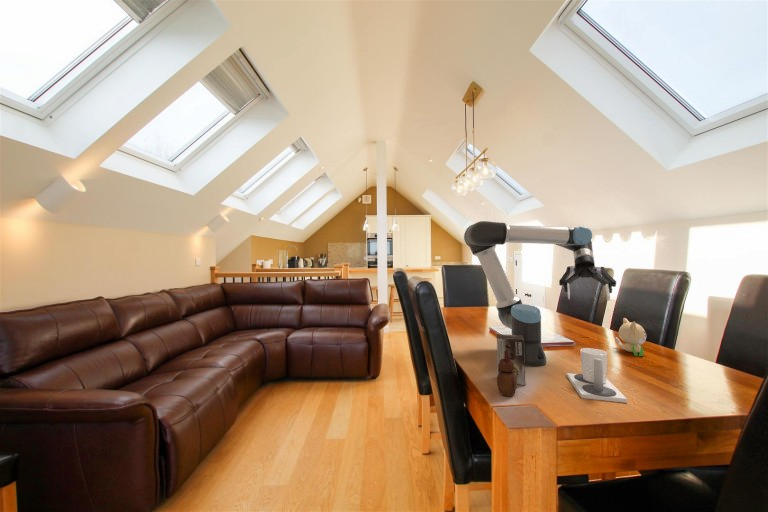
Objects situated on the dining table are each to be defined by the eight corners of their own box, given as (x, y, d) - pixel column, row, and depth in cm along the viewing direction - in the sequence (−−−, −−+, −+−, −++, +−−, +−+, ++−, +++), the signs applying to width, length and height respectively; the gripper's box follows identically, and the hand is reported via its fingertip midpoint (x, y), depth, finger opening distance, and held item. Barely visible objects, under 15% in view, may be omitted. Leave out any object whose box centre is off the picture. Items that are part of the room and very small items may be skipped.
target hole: (578, 382, 107) (578, 382, 107) (571, 373, 115) (571, 372, 115) (608, 385, 104) (608, 384, 104) (599, 375, 112) (599, 375, 112)
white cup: (613, 384, 104) (613, 354, 104) (590, 384, 104) (589, 354, 104) (598, 375, 112) (597, 347, 112) (576, 375, 112) (575, 348, 112)
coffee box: (524, 379, 114) (523, 335, 114) (525, 386, 107) (524, 339, 108) (497, 376, 117) (496, 333, 117) (497, 383, 110) (496, 337, 111)
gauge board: (581, 397, 98) (580, 362, 98) (566, 376, 116) (566, 346, 116) (627, 402, 94) (626, 365, 94) (604, 379, 112) (603, 348, 112)
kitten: (655, 358, 135) (654, 323, 135) (628, 356, 138) (627, 322, 138) (638, 348, 149) (637, 317, 150) (613, 347, 152) (612, 316, 152)
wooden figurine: (514, 400, 97) (513, 351, 97) (495, 396, 100) (494, 349, 100) (518, 392, 103) (517, 346, 103) (500, 388, 106) (499, 344, 106)
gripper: (617, 266, 137) (625, 305, 123) (552, 266, 149) (553, 301, 135) (619, 254, 132) (627, 293, 119) (552, 255, 144) (553, 290, 131)
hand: (588, 297), depth 127 cm, fingers open, 13 cm apart
